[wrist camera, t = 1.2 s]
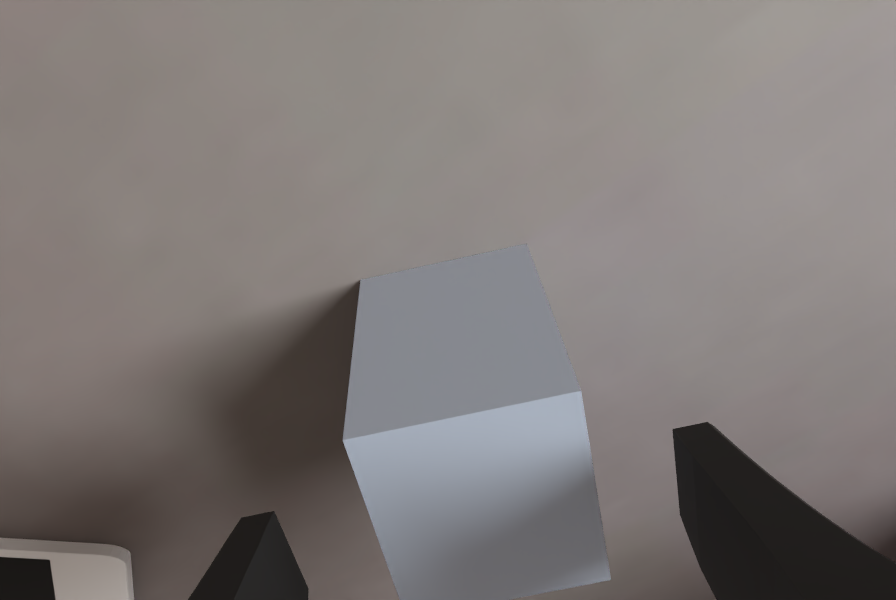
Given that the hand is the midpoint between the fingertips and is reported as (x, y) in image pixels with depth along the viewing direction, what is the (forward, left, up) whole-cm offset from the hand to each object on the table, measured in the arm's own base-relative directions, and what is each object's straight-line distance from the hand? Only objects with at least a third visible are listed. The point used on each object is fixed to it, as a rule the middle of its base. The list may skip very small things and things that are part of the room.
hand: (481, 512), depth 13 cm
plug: (0, 0, -6) cm, 6 cm away
